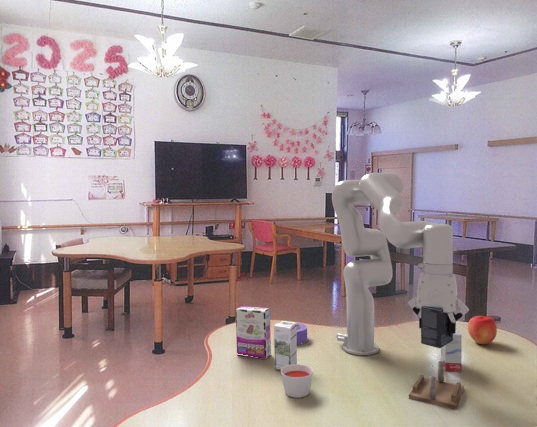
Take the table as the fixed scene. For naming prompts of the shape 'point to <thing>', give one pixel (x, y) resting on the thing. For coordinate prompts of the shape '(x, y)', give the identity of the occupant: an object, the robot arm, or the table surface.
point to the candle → (297, 380)
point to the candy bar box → (253, 331)
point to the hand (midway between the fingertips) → (437, 332)
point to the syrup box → (285, 344)
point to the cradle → (437, 390)
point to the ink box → (453, 353)
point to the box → (434, 327)
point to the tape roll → (301, 333)
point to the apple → (482, 329)
